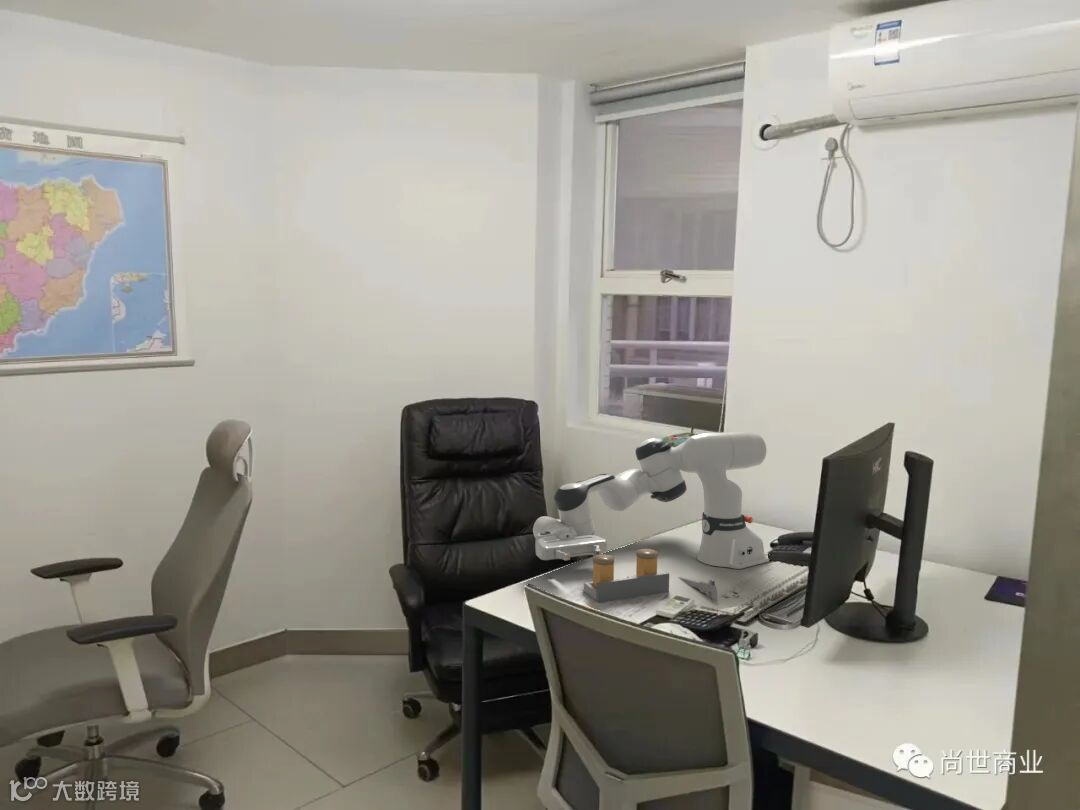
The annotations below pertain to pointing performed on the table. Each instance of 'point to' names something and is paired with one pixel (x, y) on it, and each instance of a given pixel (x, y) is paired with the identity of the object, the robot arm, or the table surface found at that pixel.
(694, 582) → the caliper
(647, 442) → the robot arm
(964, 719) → the table surface
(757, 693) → the table surface
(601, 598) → the housing
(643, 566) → the orange jar with lid
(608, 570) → the amber lidded jar
